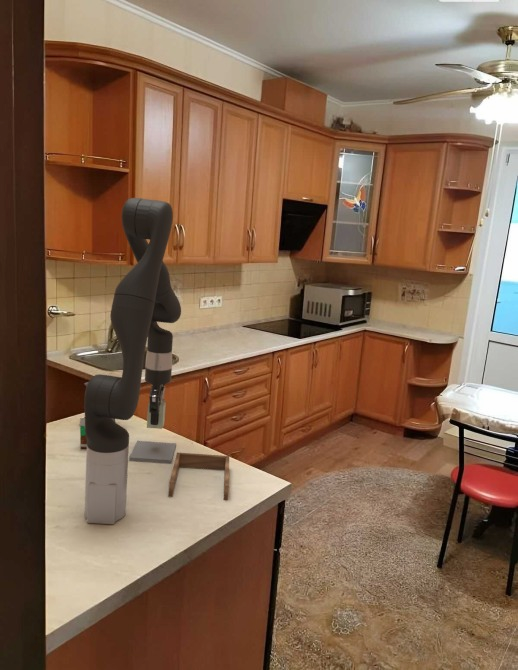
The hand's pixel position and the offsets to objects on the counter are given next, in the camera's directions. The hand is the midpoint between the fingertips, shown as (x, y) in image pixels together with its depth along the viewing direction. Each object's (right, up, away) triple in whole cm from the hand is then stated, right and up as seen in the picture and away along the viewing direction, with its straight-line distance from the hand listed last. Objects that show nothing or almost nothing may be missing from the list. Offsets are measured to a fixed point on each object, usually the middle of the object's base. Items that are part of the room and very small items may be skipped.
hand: (155, 421), depth 152 cm
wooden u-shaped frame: (+15, -14, -13) cm, 24 cm away
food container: (-19, -8, +5) cm, 21 cm away
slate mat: (-1, -10, +2) cm, 10 cm away
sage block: (0, -1, 0) cm, 1 cm away
